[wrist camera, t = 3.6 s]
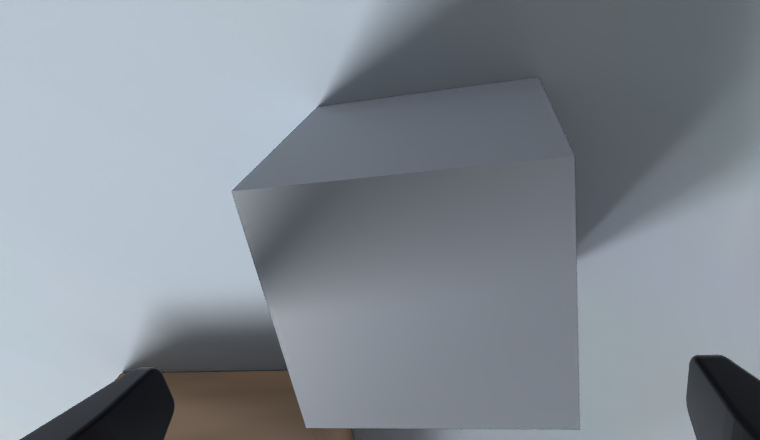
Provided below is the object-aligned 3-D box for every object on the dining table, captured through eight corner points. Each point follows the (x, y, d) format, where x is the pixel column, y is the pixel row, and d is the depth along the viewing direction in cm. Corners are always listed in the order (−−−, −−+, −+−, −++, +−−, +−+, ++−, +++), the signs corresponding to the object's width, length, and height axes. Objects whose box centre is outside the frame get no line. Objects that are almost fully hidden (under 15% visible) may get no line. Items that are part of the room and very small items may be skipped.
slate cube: (547, 273, 16) (579, 429, 11) (358, 284, 18) (306, 427, 12) (538, 75, 14) (574, 156, 8) (318, 106, 15) (231, 191, 10)
